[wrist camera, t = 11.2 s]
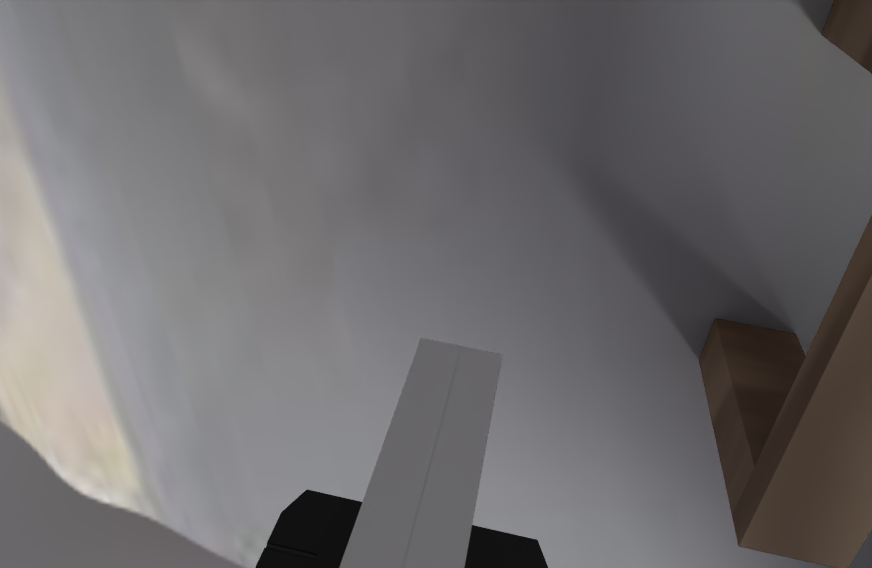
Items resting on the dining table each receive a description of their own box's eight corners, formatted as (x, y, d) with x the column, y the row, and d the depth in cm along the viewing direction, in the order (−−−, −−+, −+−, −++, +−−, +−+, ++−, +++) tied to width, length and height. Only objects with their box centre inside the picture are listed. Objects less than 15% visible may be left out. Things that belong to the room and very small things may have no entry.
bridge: (955, -20, 21) (1165, 51, 14) (777, 376, 29) (846, 570, 21) (847, -36, 22) (993, 25, 14) (699, 360, 29) (738, 546, 21)
